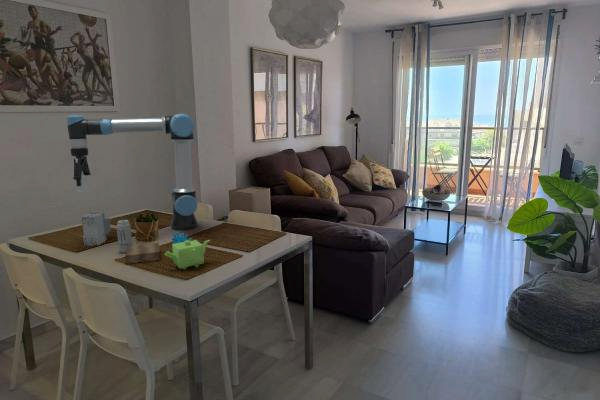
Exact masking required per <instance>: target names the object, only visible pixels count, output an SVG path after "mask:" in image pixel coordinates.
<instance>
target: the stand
mask: <svg viewBox="0 0 600 400" xmlns="http://www.w3.org/2000/svg"><path fill="white" fill-rule="evenodd" d="M156 260H159V261H161V256H160V245H159V242H154V243H146V244H144V243H143V244H137V245H136V244H135V245H132V246H127V250H126V253H125V263H126V265H132V264H131V263H134V264H139V263H138V262H142V263H149V262H148V261H150V262H157V261H156Z"/></svg>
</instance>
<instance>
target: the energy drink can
mask: <svg viewBox="0 0 600 400" xmlns="http://www.w3.org/2000/svg"><path fill="white" fill-rule="evenodd" d="M116 233H117V242H118V243H117V244H118V251H119V252H120V253H121V254H126V250H127V246H133V239H132V238H133V237H132V226H131V223H130V221H129V220H128V219H121V220H120V219H119V220H118V221H117V223H116Z"/></svg>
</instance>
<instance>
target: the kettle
mask: <svg viewBox="0 0 600 400" xmlns="http://www.w3.org/2000/svg"><path fill="white" fill-rule="evenodd" d="M210 241H211V239H208V240H204V242H203V244H202V243H201V242H199V241H198V240H197V239H195V240H190V241H189V240H187V241H184V242H181V243H175V244H173V243H172V244H171V246H172V248H171V249H172V252H170V251H169V250H166V251H165V253H164V256H166V257H168V258H170V259H172V260H173V263H174V264H175V266H177V268H178V269H181V270H182V269H186V268H187V269H188V267H194V266H195V267H194V268H199V267H198V266H200V265H203V264H205V257H204V255H205V253H206V250H207V249H206V248H207V245H208V243H210ZM187 269H186V270H187Z"/></svg>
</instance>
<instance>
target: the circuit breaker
mask: <svg viewBox="0 0 600 400" xmlns="http://www.w3.org/2000/svg"><path fill="white" fill-rule="evenodd" d="M80 218H81V219H80V222H81V225H82V230H83V236H82V239H83V243H84V244H83V246H94V245H96V244H97V245H98V246H101V243H102V244H103V242H104V243H105V241H106V240H107V241H108V238H107V235H108V234H109V233H111V232H112V228H111V220H110V217H105V213H104V212H89V213H86V214H83V215H81V216H80ZM107 241H106V242H107ZM85 244H87V245H85ZM93 244H94V245H93Z"/></svg>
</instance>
